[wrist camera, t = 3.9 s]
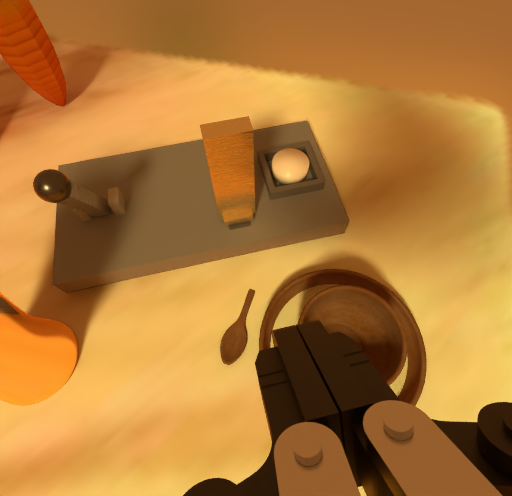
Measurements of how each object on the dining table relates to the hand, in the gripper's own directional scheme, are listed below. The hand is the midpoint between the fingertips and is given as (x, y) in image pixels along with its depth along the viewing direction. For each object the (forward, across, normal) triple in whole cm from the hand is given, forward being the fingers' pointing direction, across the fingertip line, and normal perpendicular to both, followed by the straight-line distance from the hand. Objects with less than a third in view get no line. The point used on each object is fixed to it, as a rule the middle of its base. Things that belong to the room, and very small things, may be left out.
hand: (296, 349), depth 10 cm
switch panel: (+22, +3, -1) cm, 23 cm away
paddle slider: (+19, 0, -1) cm, 19 cm away
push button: (+21, -6, -3) cm, 22 cm away
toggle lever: (+21, +11, -3) cm, 24 cm away
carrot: (+34, +16, -13) cm, 40 cm away
